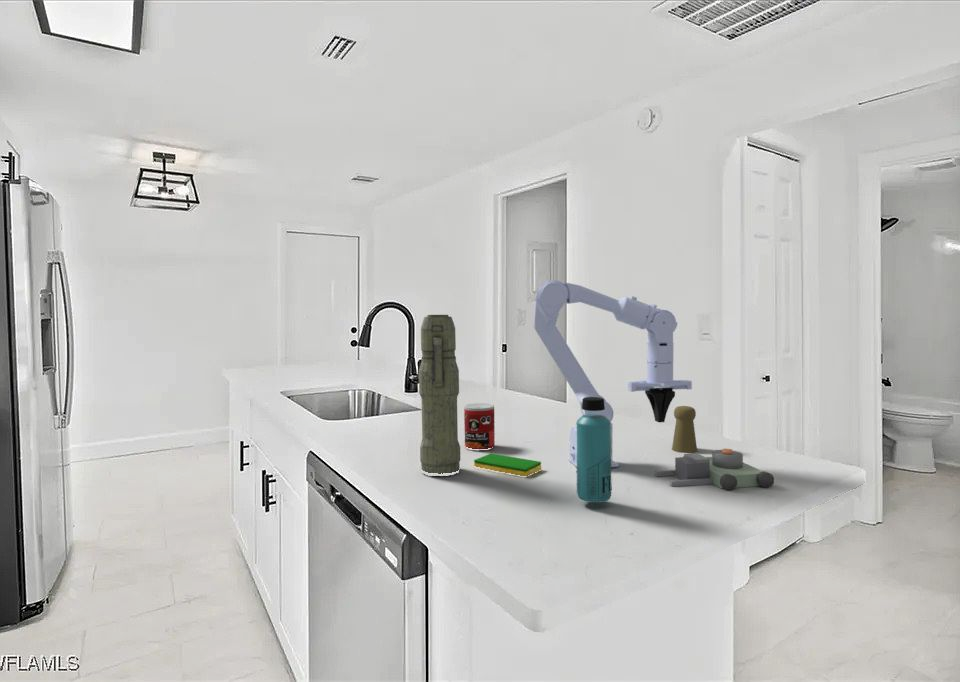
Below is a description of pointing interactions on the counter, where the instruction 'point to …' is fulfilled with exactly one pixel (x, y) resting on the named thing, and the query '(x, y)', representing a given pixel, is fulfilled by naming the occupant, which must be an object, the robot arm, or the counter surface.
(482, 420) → the canned food
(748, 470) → the mower deck
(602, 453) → the beverage bottle
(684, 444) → the olive brown tapered figure
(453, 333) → the olive green flashlight
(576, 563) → the counter surface
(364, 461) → the counter surface
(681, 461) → the grey block on ledge
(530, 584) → the counter surface
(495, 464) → the dish sponge
